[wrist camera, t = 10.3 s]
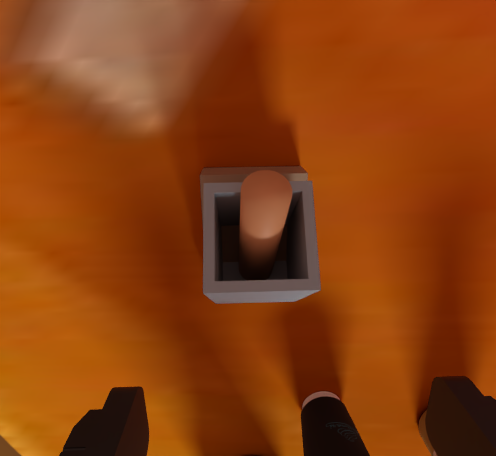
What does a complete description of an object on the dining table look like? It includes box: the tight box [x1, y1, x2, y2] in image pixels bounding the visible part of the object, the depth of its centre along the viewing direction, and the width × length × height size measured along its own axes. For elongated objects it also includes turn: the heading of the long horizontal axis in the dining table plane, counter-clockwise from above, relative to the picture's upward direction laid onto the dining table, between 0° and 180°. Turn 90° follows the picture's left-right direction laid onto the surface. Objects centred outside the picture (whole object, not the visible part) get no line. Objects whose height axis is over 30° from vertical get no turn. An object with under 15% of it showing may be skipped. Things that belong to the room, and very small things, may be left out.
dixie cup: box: [301, 391, 370, 456], centre depth 38 cm, size 8×8×11 cm
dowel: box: [239, 170, 292, 281], centre depth 26 cm, size 3×3×12 cm
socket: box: [200, 166, 321, 304], centre depth 28 cm, size 12×9×14 cm
